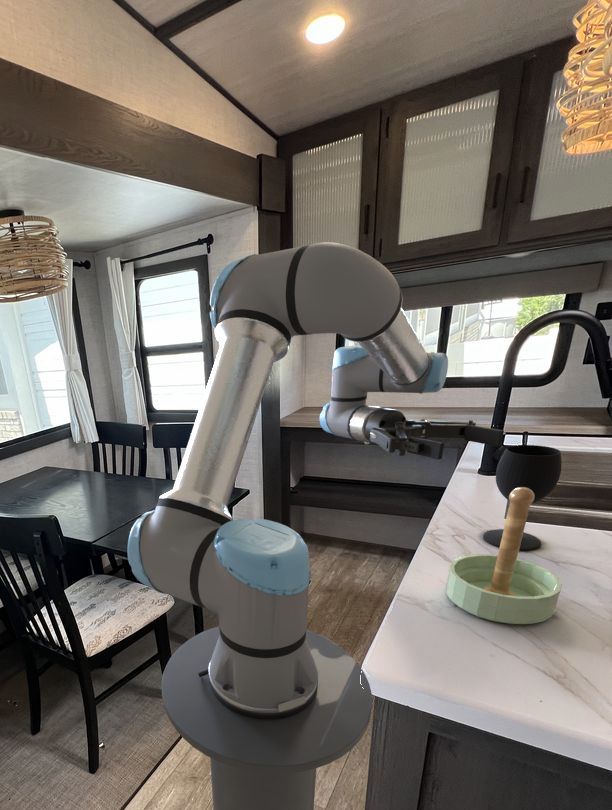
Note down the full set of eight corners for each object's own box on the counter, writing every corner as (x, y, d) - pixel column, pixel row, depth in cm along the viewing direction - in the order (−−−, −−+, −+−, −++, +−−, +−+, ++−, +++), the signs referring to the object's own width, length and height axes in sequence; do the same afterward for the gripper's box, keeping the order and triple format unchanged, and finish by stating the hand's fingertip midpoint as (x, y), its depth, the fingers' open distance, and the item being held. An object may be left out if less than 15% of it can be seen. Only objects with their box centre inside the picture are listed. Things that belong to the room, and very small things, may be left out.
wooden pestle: (489, 604, 79) (515, 492, 71) (477, 591, 83) (501, 483, 75) (518, 605, 79) (548, 491, 70) (505, 591, 83) (531, 482, 74)
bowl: (467, 627, 76) (473, 598, 73) (432, 580, 90) (436, 554, 87) (574, 629, 73) (584, 599, 71) (521, 580, 87) (528, 553, 85)
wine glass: (475, 542, 102) (494, 452, 94) (490, 527, 108) (509, 441, 100) (534, 555, 95) (559, 459, 86) (546, 538, 101) (571, 447, 93)
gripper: (422, 435, 103) (519, 454, 84) (328, 453, 96) (411, 479, 77) (427, 400, 100) (529, 412, 81) (330, 416, 93) (417, 433, 74)
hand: (472, 444), depth 79 cm, fingers open, 13 cm apart
